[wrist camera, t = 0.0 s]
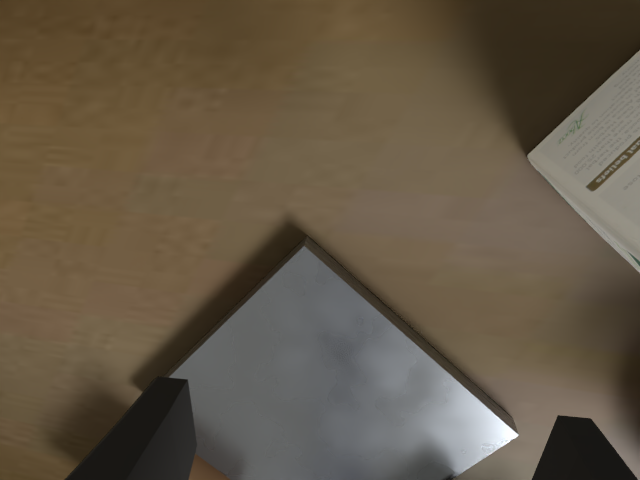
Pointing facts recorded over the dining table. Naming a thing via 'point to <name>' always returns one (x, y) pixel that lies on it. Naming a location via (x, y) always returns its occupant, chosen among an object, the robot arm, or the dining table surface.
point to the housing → (204, 471)
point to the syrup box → (601, 160)
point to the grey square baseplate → (331, 386)
